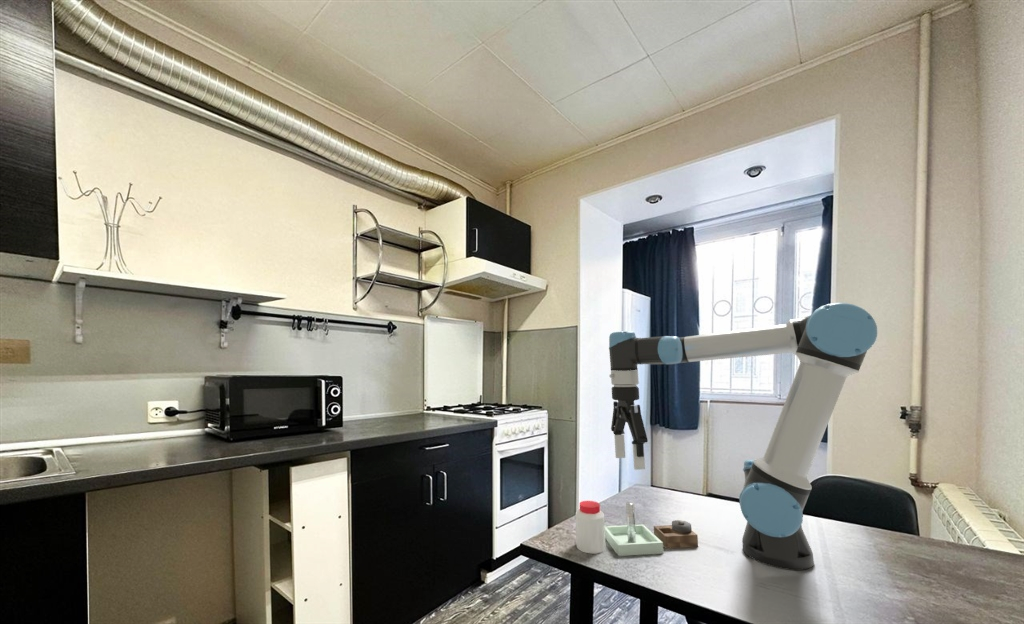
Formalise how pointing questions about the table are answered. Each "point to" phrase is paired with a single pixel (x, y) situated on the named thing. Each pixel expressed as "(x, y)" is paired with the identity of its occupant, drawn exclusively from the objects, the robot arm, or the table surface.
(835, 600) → the table surface
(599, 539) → the pill bottle
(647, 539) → the tray
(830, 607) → the table surface
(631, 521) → the clear translucent rod
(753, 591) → the table surface
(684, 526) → the brown and grey block
